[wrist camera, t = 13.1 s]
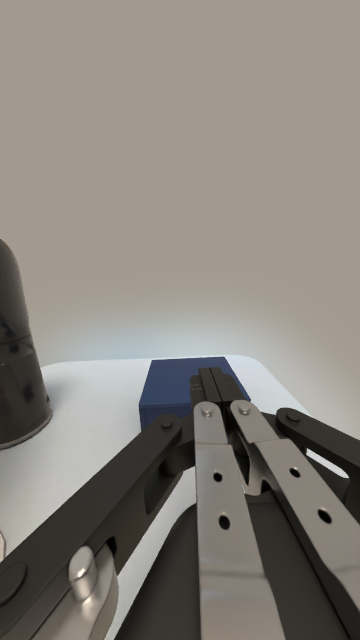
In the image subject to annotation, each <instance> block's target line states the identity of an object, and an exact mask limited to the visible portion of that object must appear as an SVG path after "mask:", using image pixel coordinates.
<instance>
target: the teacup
mask: <svg viewBox="0 0 360 640" xmlns="http://www.w3.org/2000/svg"><path fill="white" fill-rule="evenodd" d="M4 547H5V542H4V540H3V538H2V535H1V533H0V562H1V561H3V560H4Z"/></svg>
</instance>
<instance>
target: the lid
mask: <svg viewBox="0 0 360 640" xmlns="http://www.w3.org/2000/svg"><path fill="white" fill-rule="evenodd" d="M206 367H220V368H221V370H222V372H223V374H229V375H231V376H232V377H233V378H234V379H235V381H236V383H237V385H238V387H239V388H240V390H241V391H242V393H243V395H244V397H245V398H246V400H247V401H249V402H251V399H250V397H249V396H248V394H247V392H246V391H245V389H244V388H243V386H242V384H241V383H240V381H239V380H238V378H237V376H236V375H235V373H234V371H233V370H232V368H231V367H230V365H229V363H228V362H227V360H226V359H225V357H207V358H186V359H166V360H152V362H151V365H150V368H149V372H148V375H147V378H146V382H145V385H144V388H143V392H142V395H141V399H140V402H139V409H152V408H171V407H190V406H191V400H190V378H191V376H192V375H198V369H199V368H206Z"/></svg>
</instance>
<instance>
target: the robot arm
mask: <svg viewBox="0 0 360 640" xmlns="http://www.w3.org/2000/svg"><path fill="white" fill-rule="evenodd" d="M48 400H49V397H48V395H47V393H46V389H45V385H44V381H43V378H42V374H41V370H40V366H39V362H38V358H37V354H36V350H35V347H34V343H33V339H32V335H31V331H30V327H29V317H28V311H27V306H26V302H25V297H24V293H23V286H22V280H21V274H20V270H19V266H18V263H17V260H16V258H15V256H14V254H13V252H12V250H11V249H10V247H9V246H8V245H7V244H6V243H5V242H4V241H2V240H1V239H0V449H3V448H7V447H10V446H13V445H16V444H18V443H20V442H22V441H24V440H26V439H28V438H30V437H31V436H33V435H34V434H36V433H37V432H39V431H40V430H41V429H42V428H43V427H44V426H45V425H46V424H47V423H48V422H49V420H50V419H51V417H52V410H51V408H50V405H49V402H50V400H49V401H48ZM190 400H191V409H192V412H191V413H190V414H189V415H188V416H186V417H183V418H181V419H180V418H179V417H178V416H177V415H175V414H171V413H166V414H162V415H160V416H158V417H157V418H156V419H155V420H154V421H153V422H152V423H150V424H149V425H148V426H147V427H146V428H145V429H144V430H143V431H142V432H141V433H140V434H139V435H138V436H136V437H135V438H134V439H133V440H132V441H131V442H130V443H129V444H128V445H127V446H126V447H125V448H123V449H122V450H121V451H120V452H119V453H118V454H117V455H116V456H115V457H114V458H113V459H112V460H110V461H109V462H108V463H107V464H106V465H105V466H104V467H103V468H102V469H101V470H100V471H99V472H97V473H96V474H95V475H94V476H93V477H92V478H91V479H90V480H89V481H88V482H87V483H86V484H85V485H83V486H82V487H81V488H80V489H79V490H78V491H77V492H76V493H75V494H74V495H73V496H72V497H70V498H69V499H68V500H67V501H66V502H65V503H64V504H63V505H62V506H61V507H60V508H59V509H57V510H56V511H55V512H54V513H53V514H52V515H51V516H50V517H49V518H48V519H47V520H46V521H44V522H43V523H42V524H41V525H40V526H39V527H38V528H37V529H36V530H35V531H34V532H33V533H32V534H30V535H29V536H28V537H27V538H26V539H25V540H24V541H23V542H22V543H21V544H20V545H19V546H17V547H16V548H15V549H14V550H13V551H12V552H11V553H10V554H9V555H8V556H7V557H6V558H5V559H4V560H3V561H1V562H0V640H104V639H105V637H106V635H107V632H108V630H109V628H110V626H111V624H112V621H113V618H114V615H115V612H116V608H117V603H118V595H119V585H118V579H117V576H118V575H119V573H120V571H121V570H122V568H123V567H124V565H125V564H126V562H127V561H128V559H129V557H130V556H131V554H132V553H133V551H134V550H135V548H136V547H137V545H138V544H139V542H140V540H141V539H142V537H143V536H144V534H145V533H146V531H147V530H148V528H149V527H150V525H151V523H152V522H153V520H154V519H155V517H156V516H157V514H158V513H159V511H160V509H161V508H162V506H163V505H164V503H165V502H166V500H167V499H168V497H169V496H170V494H171V492H172V491H173V489H174V488H175V486H176V485H177V483H178V482H179V480H180V478H181V477H182V475H183V471H185V470H187V469H189V468H191V467H193V466H195V475H196V503H195V504H193V505H192V506H190V507H189V508H188V509H186V510H185V511H184V512H183V513H182V514H181V515H180V517H179V518H178V519H177V521H176V522H175V524H174V525H173V527H172V528H171V530H170V532H169V534H168V536H167V538H166V540H165V542H164V544H163V546H162V548H161V549H160V551H159V553H158V555H157V557H156V559H155V561H154V563H153V565H152V567H151V569H150V571H149V573H148V575H147V577H146V579H145V581H144V582H143V584H142V586H141V588H140V590H139V592H138V594H137V596H136V598H135V600H134V602H133V604H132V606H131V608H130V610H129V611H128V613H127V615H126V617H125V619H124V621H123V623H122V625H121V627H120V629H119V631H118V633H117V635H116V637H115V639H114V640H360V440H358V439H355V438H353V437H351V436H349V435H347V434H345V433H343V432H341V431H339V430H337V429H335V428H332V427H330V426H328V425H326V424H324V423H322V422H320V421H318V420H316V419H314V418H312V417H310V416H308V415H306V414H303V413H301V412H299V411H297V410H295V409H291V408H280V409H278V410H277V413H276V415H273V414H268V413H263V412H260V411H259V410H258V408H257V407H256V406H255V405H254V404H252V403H251V402H249V401H247V400H246V398H245V397H244V395H243V393H242V391H241V390H240V388H239V387H238V385H237V383H236V381H235V379H234V378H233V377H232V376H231V375H229V374H223V372H222V370H221V368H220V367H206V368H199V369H198V375H192V376H191V378H190ZM227 437H228V439H229V444H228V441H227ZM307 448H308V449H310V450H311V451H313V452H315V453H316V454H318V455H320V456H321V457H323V458H325V459H326V460H328V461H329V462H331V463H333V464H334V465H336V466H338V467H339V468H341V469H342V470H343V471H344V472H345V473H346V474H347V475H348V476H349V478H343V477H341V476H339V475H337V474H336V473H334V472H333V471H331V470H330V469H328V468H326V467H325V466H323V465H322V464H320V463H318V462H317V461H315V460H314V459H312V458H310V457H309V456H307V455H306V452H307ZM242 485H243V487H242ZM243 488H244V490H245V493H244V491H243Z"/></svg>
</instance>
